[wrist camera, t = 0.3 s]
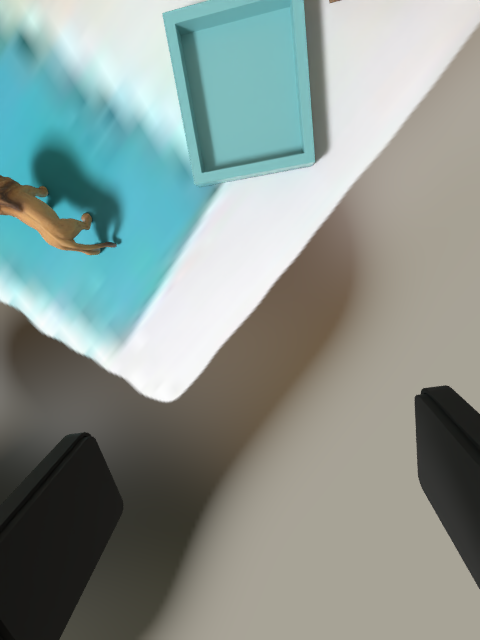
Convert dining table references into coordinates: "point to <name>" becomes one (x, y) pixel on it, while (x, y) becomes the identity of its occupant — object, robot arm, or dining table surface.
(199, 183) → the tray
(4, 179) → the lion figurine
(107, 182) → the dining table surface
